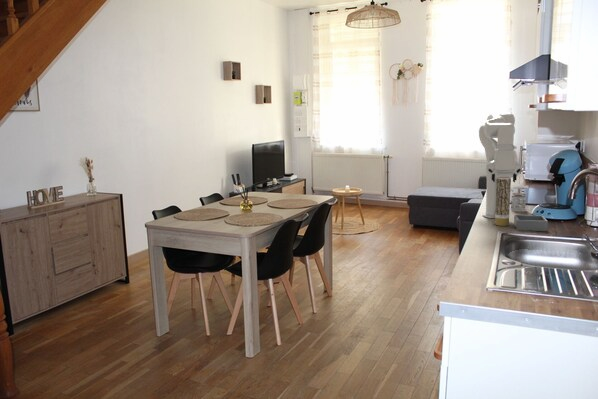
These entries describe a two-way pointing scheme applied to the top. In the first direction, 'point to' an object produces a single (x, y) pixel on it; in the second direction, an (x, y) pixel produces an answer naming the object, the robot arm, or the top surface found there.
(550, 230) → the top surface
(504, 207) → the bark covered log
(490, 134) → the robot arm
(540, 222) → the box
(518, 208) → the french press
